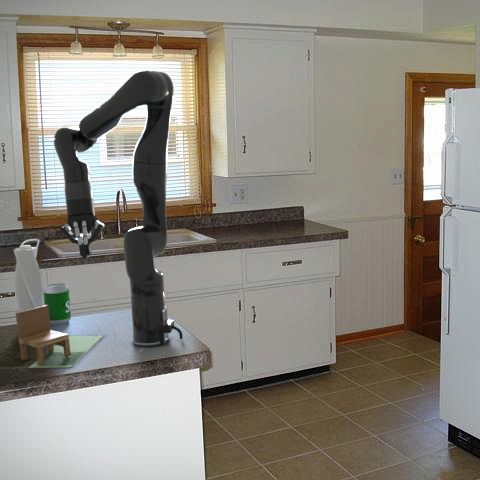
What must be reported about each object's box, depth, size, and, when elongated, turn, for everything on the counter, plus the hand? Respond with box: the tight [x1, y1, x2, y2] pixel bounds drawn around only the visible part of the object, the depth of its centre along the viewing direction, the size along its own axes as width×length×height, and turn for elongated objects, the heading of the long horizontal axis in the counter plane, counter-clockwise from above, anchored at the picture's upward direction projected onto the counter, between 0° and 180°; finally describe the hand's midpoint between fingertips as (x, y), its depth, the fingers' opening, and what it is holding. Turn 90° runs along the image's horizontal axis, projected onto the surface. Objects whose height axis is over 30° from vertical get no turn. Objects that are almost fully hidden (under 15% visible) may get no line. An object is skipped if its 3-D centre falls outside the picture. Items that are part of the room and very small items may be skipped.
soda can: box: [43, 282, 72, 326], centre depth 227 cm, size 8×8×12 cm
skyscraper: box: [13, 238, 44, 312], centre depth 216 cm, size 8×8×28 cm
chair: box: [15, 304, 71, 366], centre depth 192 cm, size 9×9×13 cm
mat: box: [28, 334, 104, 369], centre depth 200 cm, size 11×28×1 cm, turn 0°
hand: (86, 257), depth 210 cm, fingers closed
